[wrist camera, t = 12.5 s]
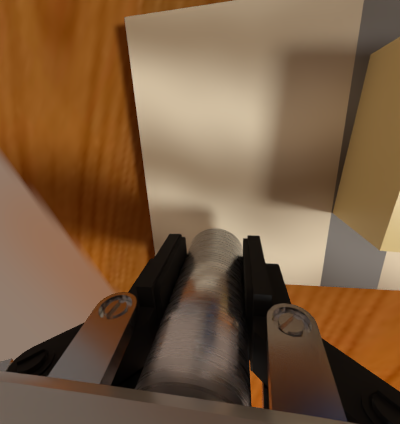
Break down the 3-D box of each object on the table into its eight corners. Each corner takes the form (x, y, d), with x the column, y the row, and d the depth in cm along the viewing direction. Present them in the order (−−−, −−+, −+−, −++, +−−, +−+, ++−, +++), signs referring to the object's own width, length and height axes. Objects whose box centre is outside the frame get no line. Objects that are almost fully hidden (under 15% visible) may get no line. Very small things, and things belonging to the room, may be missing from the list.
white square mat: (133, 27, 11) (124, 17, 10) (494, -24, 8) (527, -44, 8) (162, 268, 15) (158, 277, 14) (404, 280, 13) (417, 291, 12)
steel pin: (182, 226, 11) (40, 488, 3) (245, 222, 11) (274, 539, 2) (190, 277, 12) (103, 569, 4) (248, 277, 12) (275, 617, 4)
